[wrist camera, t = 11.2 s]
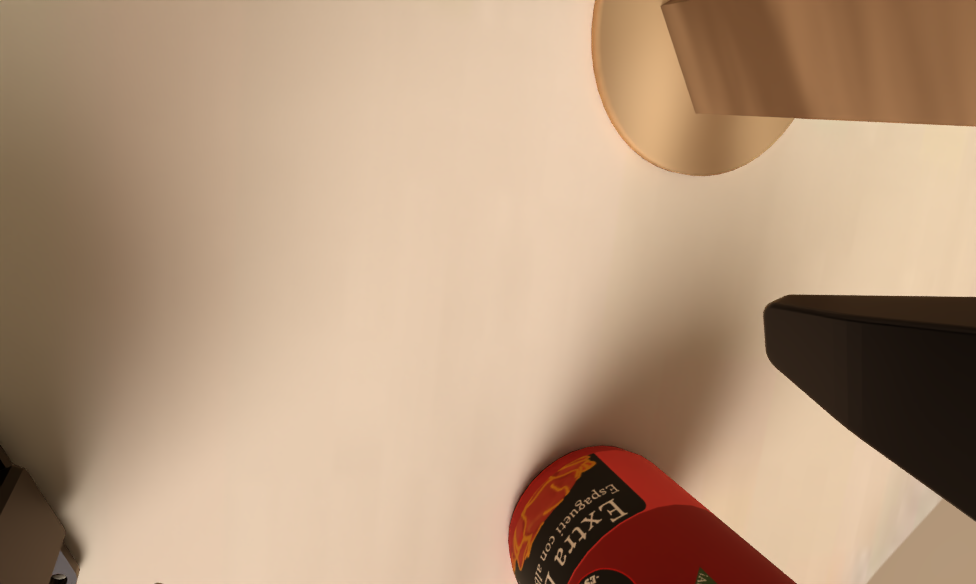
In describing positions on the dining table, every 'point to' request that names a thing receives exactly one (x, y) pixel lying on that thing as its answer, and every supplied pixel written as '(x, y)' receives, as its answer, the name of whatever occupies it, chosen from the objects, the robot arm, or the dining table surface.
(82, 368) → the dining table surface
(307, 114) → the dining table surface
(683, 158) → the coaster
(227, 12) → the dining table surface
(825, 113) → the walnut block
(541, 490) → the canned food
